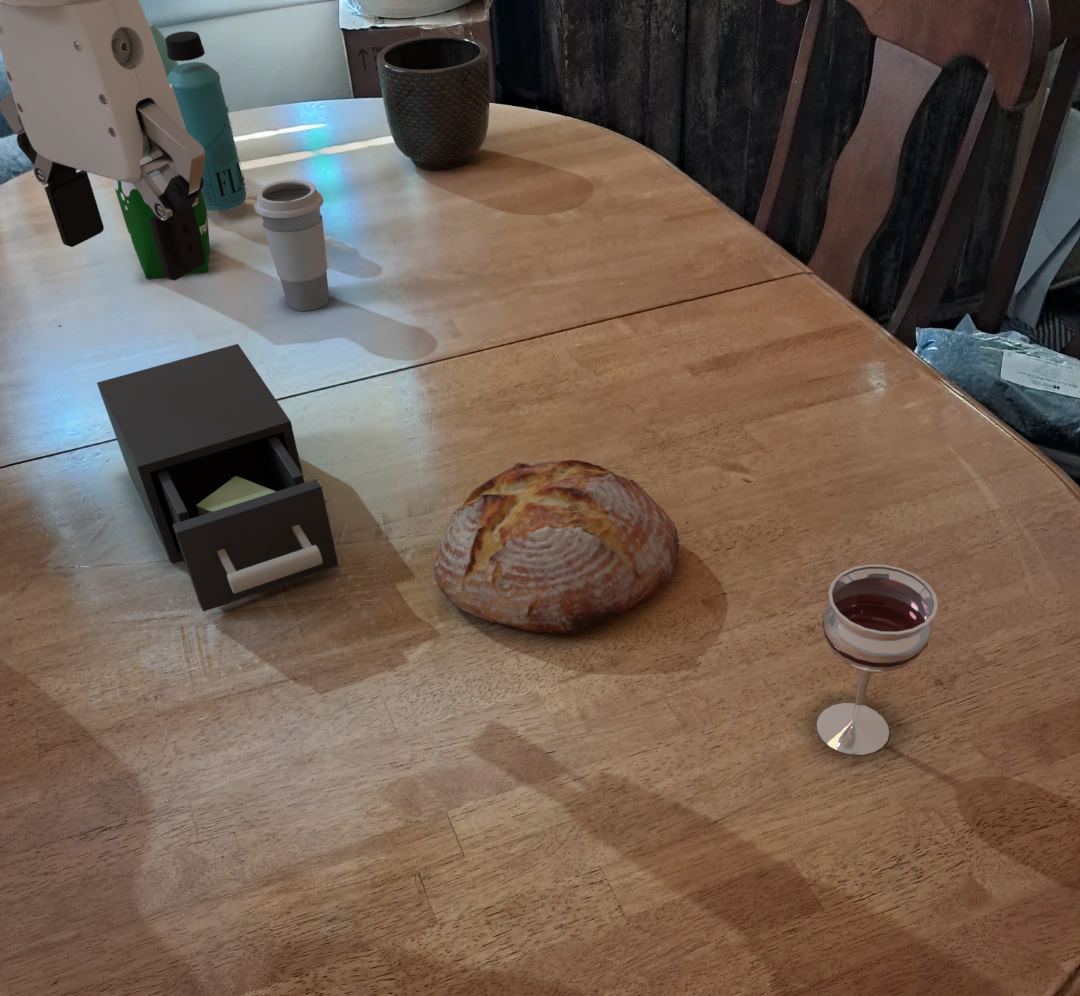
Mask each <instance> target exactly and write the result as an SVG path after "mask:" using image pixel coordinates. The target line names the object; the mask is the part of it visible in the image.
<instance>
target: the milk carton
mask: <svg viewBox="0 0 1080 996" xmlns="http://www.w3.org/2000/svg"><path fill="white" fill-rule="evenodd" d="M169 85H170V88H171V91H172V95H173V98H174V102H175V105H176V109H177V112H178V116H179V120H180V124H181V127H182V128H183V129H184V130H185V131H186V132H187V130H186V127H185V124H184V121H183V118H182V115H181V111H180V108H179V105H178V102H177V99H176V96H175V93H174V89H173V86H172V84H169ZM151 160H153V159H152V158H151V157H147V156H146V157H144V158H142V159H139V161H140V166H141V165H143V164H145V163H147V162H149V161H151ZM151 179H152V180H153V181H154V183H155V184H156V185H157V187H158V188H159V190H160V191H161V192H162V194H163V193H164V191H165V189H166V187H167V185H168V183H167V182H166V180H165V179H164V177H163V176H162V175H161V174H159V175H157V176H155V177H153V178H151ZM111 180H112V184H113V187H114V190H115V193H116V196H117V200H118V204H119V206H120V210H121V213H122V217H123V220H124V223H125V227H126V229H127V233H128V235H129V238H130V239H131V243H132V245H133V248H134V251H135V253H136V256H137V259H138V261H139V264H140V267H141V269H142V272H143V275H144V277H145V279H146V280H151V279H159V278H166V277H165V275H164V272H163V268H162V265H161V261H160V258H159V254H158V250H157V247H156V243H155V239H154V236H153V232H152V228H151V225H150V220H149V219H151V218H153V217H155V216H156V214H155V213H154V212H153V210H152V209H151V208H150V206H149V205H148V204H147V202H146V201H145V199H144V198H143V197H142V195H141V194H140V193H139V191H138V190H137V189H136V187H135V186H134V184H133V183H126V182H122V181H118V180H114V179H111ZM193 209H194V213H195V217H196V221H197V226H198V230H199V234H200V238H201V242H202V246H203V250H204V254H205V263H204V264H203V265H202V266H200V267H199V268H197V269H195V270H193V271H191V272H190V273H188V274H187V275H192V274H202V273H208V272H209V263H210V250H211V249H210V247H211V244H210V243H211V242H210V231H209V218H208V210H206V206H205V202H204V198H203V194H202V190H201V191H200V193H199V195H198V203H197V204H196V205H195V206H193Z"/></svg>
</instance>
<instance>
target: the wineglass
mask: <svg viewBox="0 0 1080 996" xmlns="http://www.w3.org/2000/svg"><path fill="white" fill-rule="evenodd" d="M827 592H828V602H827V604H826V606H825V608H824V612H823V614H822V629H823V634H824V637H825V638H824V639H825V641H826V643H827V646H828V647H829V648H830V650H831V651H832V654H834V655H835V656H837V657H838V658H839V659H840V660H841V661H842V662H843V663H845V664H847V665H849V666H850V667H852V668H855V669H857V670H859V676H858V682H857V687H856V694H855V700H854V702H841V703H837V704H833V705H830V706H829V707H827V708H825V709H824V710H823V711H822V712H821V713H820V714H819V715H818V718H817V721H816V730H817V733H818V735H819V737H820V739H821V740H822V741H823V742H824V743H825V744H826V745H827V746H829V747H830V748H832V749H834V750H836V751H837V752H840V753H843V754H847V755H853V756H865V755H868V754H873V753H875V752H877V751H879V750H880V749H882V748H883V747H884V746H885V745H886V743H887V742H888V740H889V736H890V727H889V724H888V723H887V722H886V720H885V718H884V717H883V715H881V714H880V713H878V712H877V711H876V710H875V709H872V708H871V707H868V706H867V705H865V704H863V703H864V700H865V696H866V692H867V689H868V686H869V682H870V679H871V675H872V673H886V672H891V671H894V670H900V669H902V668H903V669H904V668H905V667H906V666H908V665H910V664H912V663H913V662H914V661H916V659H917V658H918V657H919V656H920V655H921V654H922V653H923V652H924V650H925V649H926V648H927V647H928V645H929V641H930V639H931V635H932V631H933V618H935V616H936V614H937V610H938V605H939V603H938V598H937V594H936V593H935V591H934V590H933V588H932V586H930V585H929V583H928V582H927V581H926V580H924V579H922V578H921V577H920V576H919V575H917V574H916V573H913V572H912V571H909V570H906V569H905V568H901V567H898V566H892V565H887V564H863V565H858V566H854V567H851V568H848V569H847V570H845V571H843V572H841V573H839V574H838V575H837V576H836V577H835V578H834V579H832V581H831V583H830V585H829V589H828V591H827Z"/></svg>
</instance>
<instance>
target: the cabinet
mask: <svg viewBox="0 0 1080 996" xmlns="http://www.w3.org/2000/svg"><path fill="white" fill-rule="evenodd" d="M96 385H97V388H98V391H99V394H100V396H101V399H102V402H103V405H104V406H105V410H106V413H107V416H108V419H109V421H110V424H111V427H112V429H113V432H114V435H115V438H116V440H117V443H118V446H119V449H120V452H121V455H122V457H123V461H124V462H125V463H124V464H125V466H126V468H127V471H128V474H129V477H130V479H131V481H132V483H133V485H134V487H135V490H136V492H137V495H138V496H139V498H140V501H141V503H142V505H143V506H144V509H145V511H146V513H147V516H148V518H149V520H150V521H151V524H152V526H153V528H154V530H155V533H156V535H157V538H158V539H159V541H160V543H161V546H162V547H163V550H164V551H165V554H166V556H167V558H168V560H169V562H170V563H171V564H173V563H177V562H179V561H182V560H184V557H183V554H182V551H181V549H180V546H179V543H178V540H177V537H176V534H175V531H174V529H173V527H172V525H171V523H170V521H169V519H168V517H167V514H166V511H165V508H164V505H163V502H162V499H161V496H160V494H159V491H158V488H157V485H156V482H155V479H154V476H153V473H152V472H153V471H156V470H160V469H163V468H166V467H170V466H173V465H176V464H179V463H183V462H186V461H189V460H193V459H196V458H199V457H203V456H206V455H209V454H213V453H216V452H219V451H223V450H226V449H229V448H233V447H236V446H239V445H242V444H246V443H249V442H252V441H256V440H259V439H262V438H266V437H269V436H272V435H277V437H278V438H279V440H280V441H281V443H282V444H283V446H284V447H285V449H286V451H287V452H288V454H289V455H290V457H291V458H292V460H293V461H294V463H295V464H296V466H297V467H298V469H299V470H300V472H301V474H302V475H303V479H304V480H305V477H304V473H303V469H302V464H301V459H300V456H299V452H298V447H297V442H296V438H295V434H294V430H293V425H292V421H291V420H290V417H288V415H287V413H286V412H285V410H284V409H283V408H282V406H281V405H280V403H279V402H278V400H277V399H276V398H275V396H274V395H273V392H271V390H270V389H269V387H268V385H267V384H266V382H264V380H263V378H262V377H261V375H260V374H259V372H258V370H257V369H256V368H255V367H254V365H253V364H252V362H251V360H250V359H249V358H248V355H246V353H245V352H244V350H243V349H242V348H241V346H240V344H239V343H236V344H235V343H234V344H232V345H228V346H224V347H221V348H217V349H214V350H210V351H206V352H203V353H199V354H195V355H191V356H188V357H184V358H181V359H178V360H174V361H170V362H166V363H163V364H159V365H156V366H152V367H147V368H145V369H141V370H137V371H134V372H130V373H126V374H123V375H120V376H116V377H112V378H109V379H105V380H100V381H97V382H96ZM305 482H306V481H304V483H305Z"/></svg>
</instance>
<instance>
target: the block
mask: <svg viewBox="0 0 1080 996" xmlns="http://www.w3.org/2000/svg"><path fill="white" fill-rule="evenodd" d="M274 492H276V491H274V490H271V489H268V488H266V487H263V486H261V485H258V484H256V483H253V482H251V481H248V480H245V479H243V478H240V477H238V476H235V477H234V478H232V479H231V480H230V481H228V482H227V483H225V484H224V485H223V486H221V487H220V488H219V489H217V490H216V491H215V492H213V493H212V494H211V495H209V496H208V497H207V498H205V499H204V500H202V501H201V502H200V503H198V504H197V505H196V506H197V509H198V513H199V516H201V515H204V514H207V513H210V512H214V511H217V510H220V509H223V508H226V507H229V506H233V505H236V504H239V503H242V502H245V501H248V500H252V499H255V498H258V497H261V496H264V495H267V494H271V493H274Z"/></svg>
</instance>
